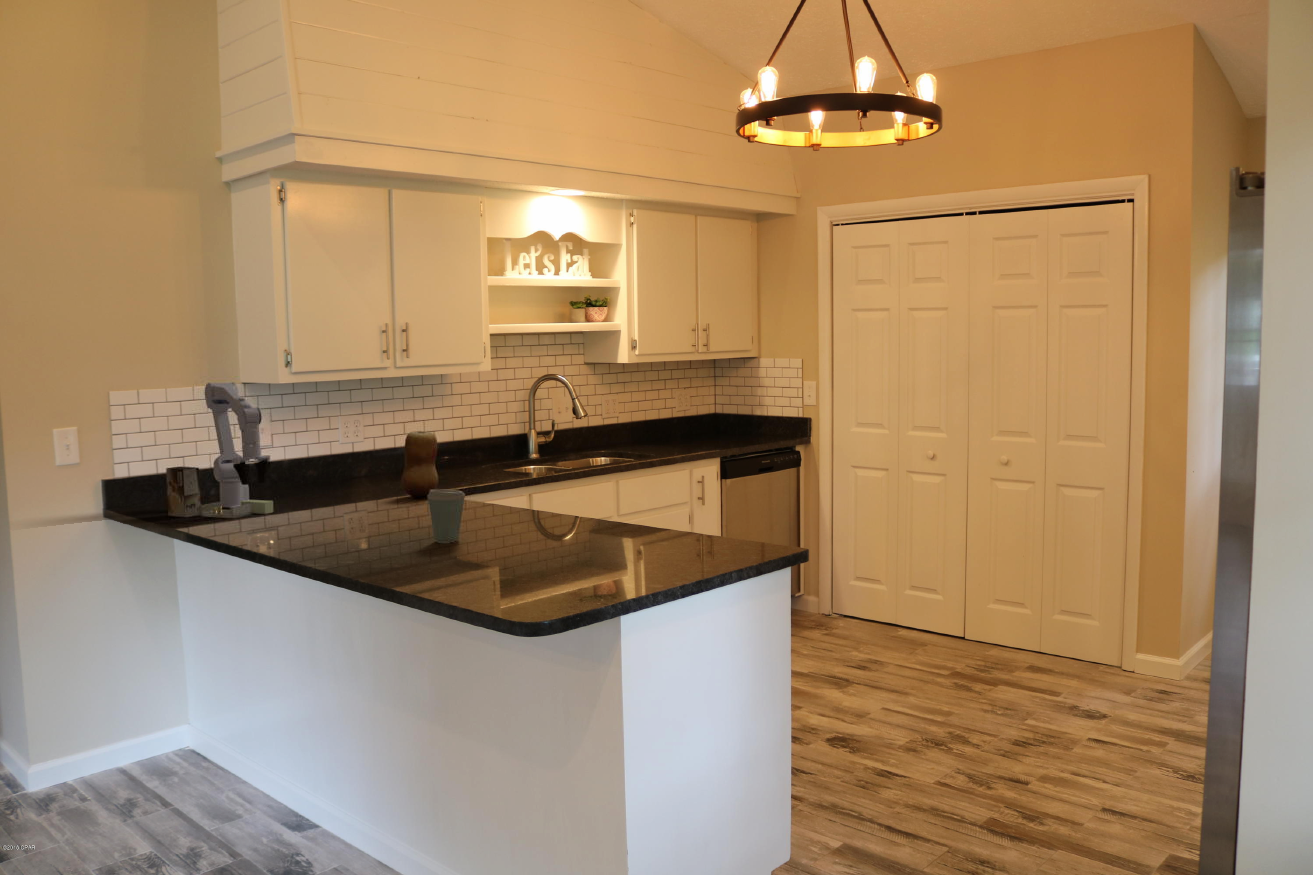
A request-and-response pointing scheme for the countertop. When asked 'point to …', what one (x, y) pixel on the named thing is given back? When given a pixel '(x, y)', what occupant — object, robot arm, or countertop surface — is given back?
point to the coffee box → (183, 491)
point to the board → (260, 506)
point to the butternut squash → (420, 464)
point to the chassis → (217, 511)
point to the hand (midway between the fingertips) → (253, 483)
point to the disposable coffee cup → (446, 514)
